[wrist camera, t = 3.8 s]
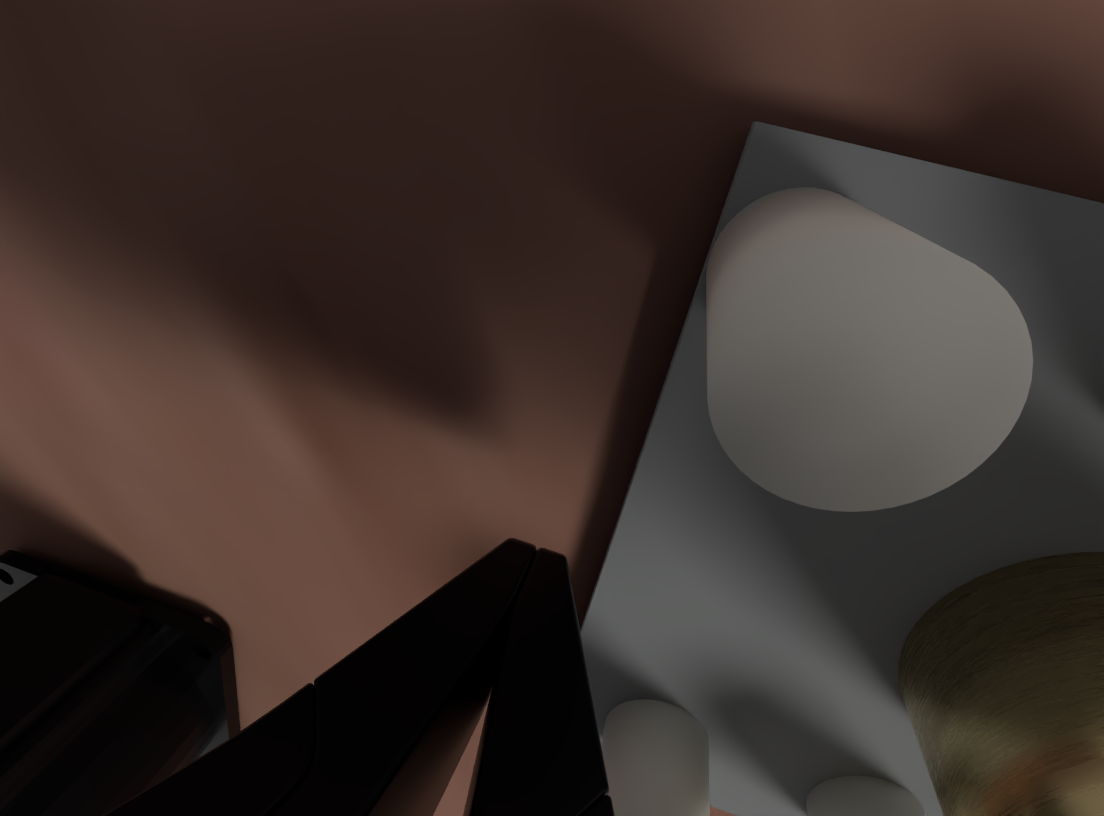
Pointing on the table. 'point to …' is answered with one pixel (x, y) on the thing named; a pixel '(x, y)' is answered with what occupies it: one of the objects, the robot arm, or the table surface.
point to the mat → (836, 536)
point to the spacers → (833, 419)
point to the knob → (1013, 690)
